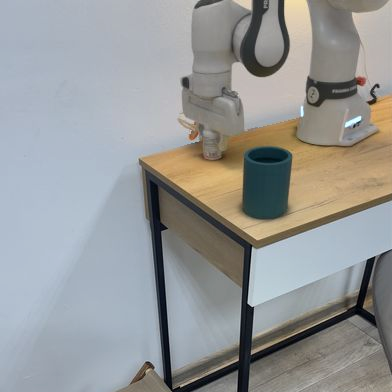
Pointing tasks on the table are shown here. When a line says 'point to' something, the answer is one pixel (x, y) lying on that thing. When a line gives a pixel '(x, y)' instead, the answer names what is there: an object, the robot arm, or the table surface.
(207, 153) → the pill bottle
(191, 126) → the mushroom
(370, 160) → the table surface
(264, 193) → the jar
